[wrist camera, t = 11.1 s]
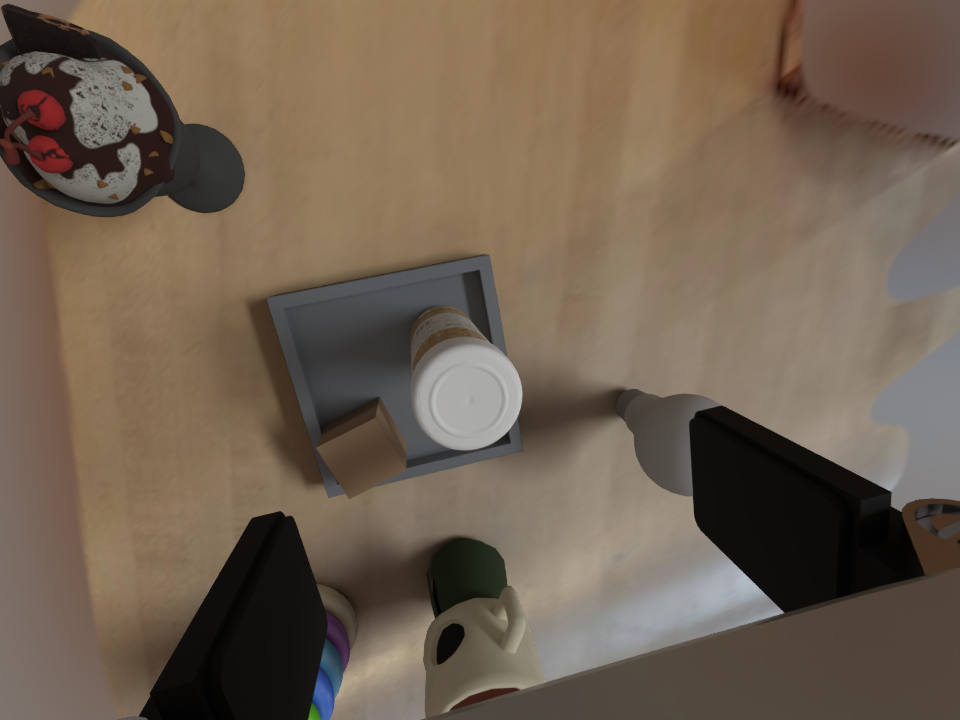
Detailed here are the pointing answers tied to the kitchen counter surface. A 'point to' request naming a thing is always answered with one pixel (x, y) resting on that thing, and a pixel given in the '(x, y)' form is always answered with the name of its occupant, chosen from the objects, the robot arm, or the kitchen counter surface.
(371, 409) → the walnut block
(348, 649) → the stacking toy
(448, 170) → the kitchen counter surface
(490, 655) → the character mug
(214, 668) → the robot arm
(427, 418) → the sprinkles bottle
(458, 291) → the slate tray
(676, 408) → the lightbulb
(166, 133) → the sundae
